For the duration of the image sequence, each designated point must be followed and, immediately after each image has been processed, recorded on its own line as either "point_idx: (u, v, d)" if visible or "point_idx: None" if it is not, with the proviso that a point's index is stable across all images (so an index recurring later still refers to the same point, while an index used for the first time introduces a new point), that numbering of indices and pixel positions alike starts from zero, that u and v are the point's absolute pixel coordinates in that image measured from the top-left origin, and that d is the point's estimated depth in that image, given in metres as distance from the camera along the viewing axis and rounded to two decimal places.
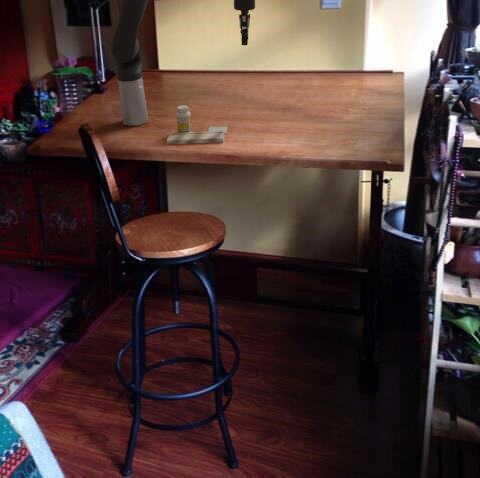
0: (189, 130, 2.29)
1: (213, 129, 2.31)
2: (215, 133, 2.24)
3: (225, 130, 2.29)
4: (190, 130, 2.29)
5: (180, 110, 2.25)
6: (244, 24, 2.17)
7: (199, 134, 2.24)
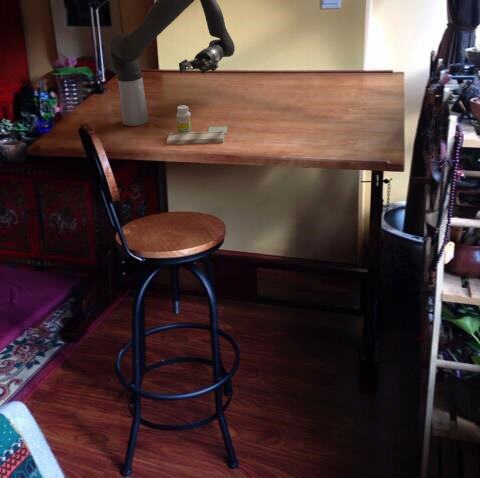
0: (189, 130, 2.29)
1: (213, 129, 2.31)
2: (215, 133, 2.24)
3: (225, 130, 2.29)
4: (190, 130, 2.29)
5: (180, 110, 2.25)
6: (216, 65, 2.34)
7: (199, 134, 2.24)
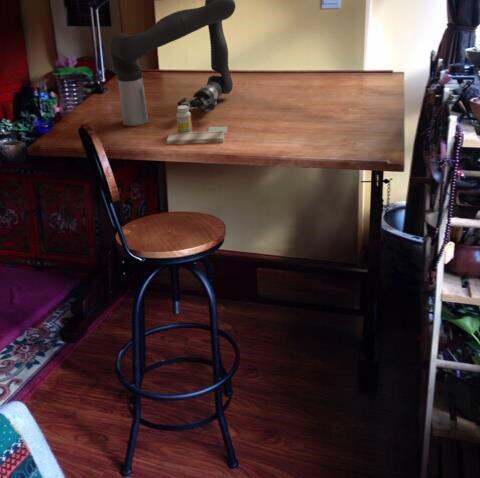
0: (189, 130, 2.29)
1: (213, 129, 2.31)
2: (215, 133, 2.24)
3: (225, 130, 2.29)
4: (190, 130, 2.29)
5: (180, 110, 2.25)
6: (214, 105, 2.37)
7: (199, 134, 2.24)
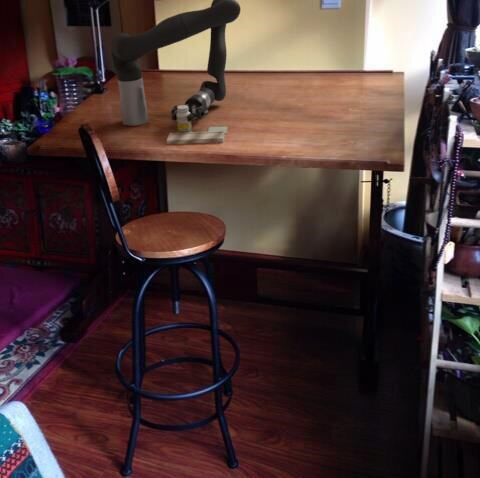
0: (189, 130, 2.28)
1: (213, 129, 2.31)
2: (215, 133, 2.24)
3: (225, 130, 2.29)
4: (190, 130, 2.29)
5: (180, 110, 2.25)
6: (204, 113, 2.30)
7: (199, 134, 2.24)
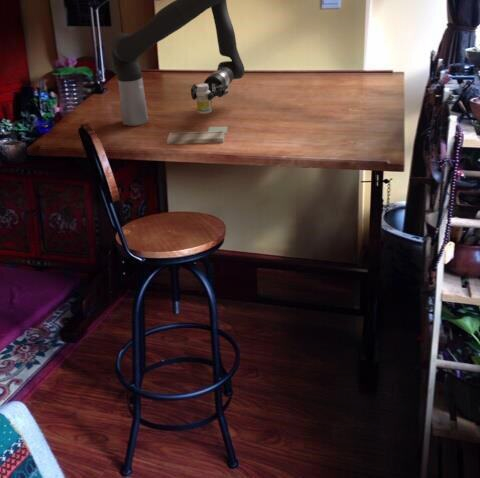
0: (209, 109, 2.24)
1: (213, 129, 2.31)
2: (215, 133, 2.24)
3: (225, 130, 2.29)
4: (210, 109, 2.25)
5: (200, 88, 2.21)
6: (224, 91, 2.26)
7: (199, 134, 2.24)
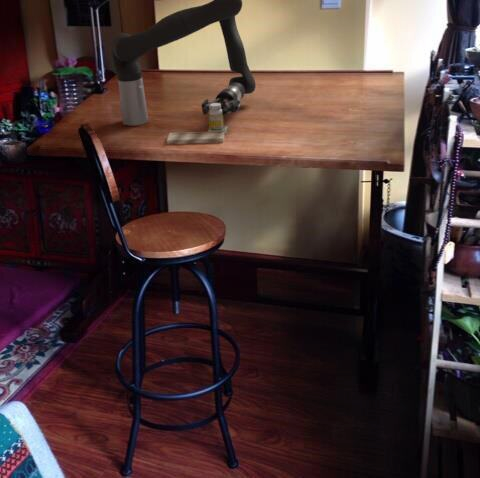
0: (221, 127, 2.28)
1: None
2: (215, 133, 2.24)
3: (225, 130, 2.29)
4: (222, 128, 2.28)
5: (213, 107, 2.24)
6: (237, 107, 2.28)
7: (199, 134, 2.24)
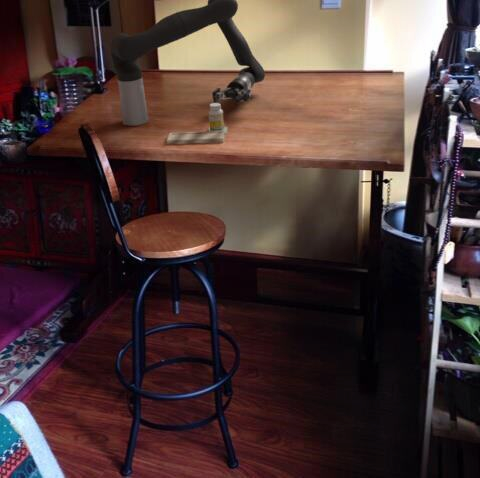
0: (221, 128, 2.28)
1: None
2: (215, 133, 2.24)
3: (225, 130, 2.29)
4: (222, 128, 2.28)
5: (213, 108, 2.24)
6: (249, 95, 2.39)
7: (199, 134, 2.24)
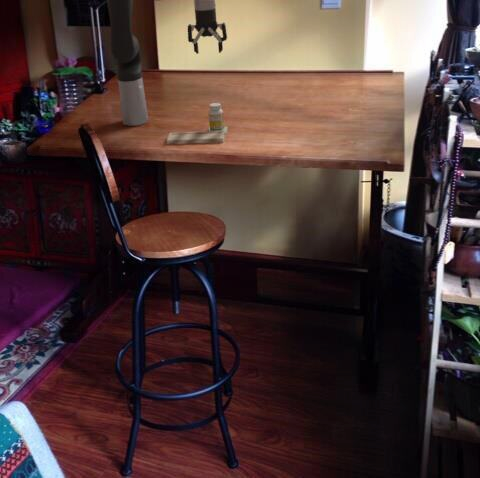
0: (221, 128, 2.28)
1: None
2: (215, 133, 2.24)
3: (225, 130, 2.29)
4: (222, 128, 2.28)
5: (213, 108, 2.24)
6: (225, 30, 2.29)
7: (199, 134, 2.24)
